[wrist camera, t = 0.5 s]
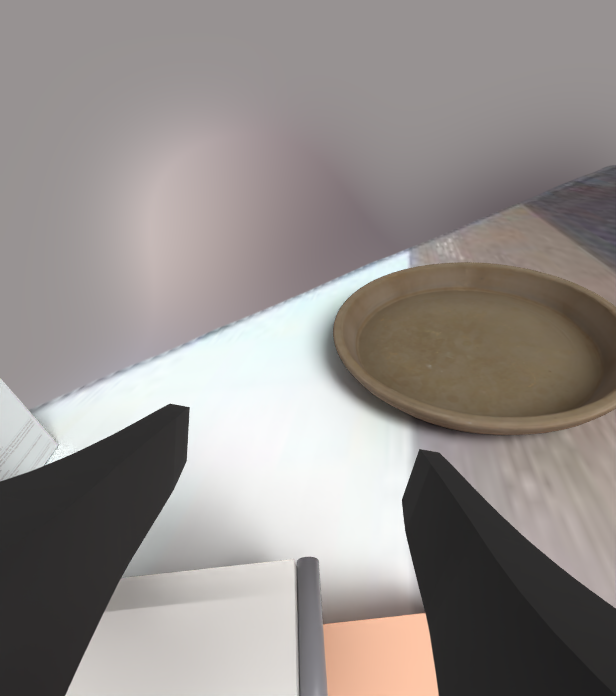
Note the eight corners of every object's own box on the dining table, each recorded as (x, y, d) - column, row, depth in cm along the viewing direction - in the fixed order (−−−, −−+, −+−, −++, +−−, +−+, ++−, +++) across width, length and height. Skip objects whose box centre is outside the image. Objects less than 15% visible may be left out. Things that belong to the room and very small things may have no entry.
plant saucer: (285, 360, 46) (279, 331, 43) (425, 270, 60) (427, 244, 58) (556, 535, 26) (577, 501, 23) (665, 336, 41) (685, 301, 38)
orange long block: (490, 732, 19) (511, 715, 16) (189, 762, 19) (153, 751, 16) (460, 636, 22) (472, 607, 19) (202, 664, 22) (174, 640, 19)
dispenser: (347, 815, 17) (333, 813, 12) (46, 841, 17) (-81, 849, 13) (329, 606, 24) (316, 552, 19) (113, 629, 24) (46, 582, 19)
